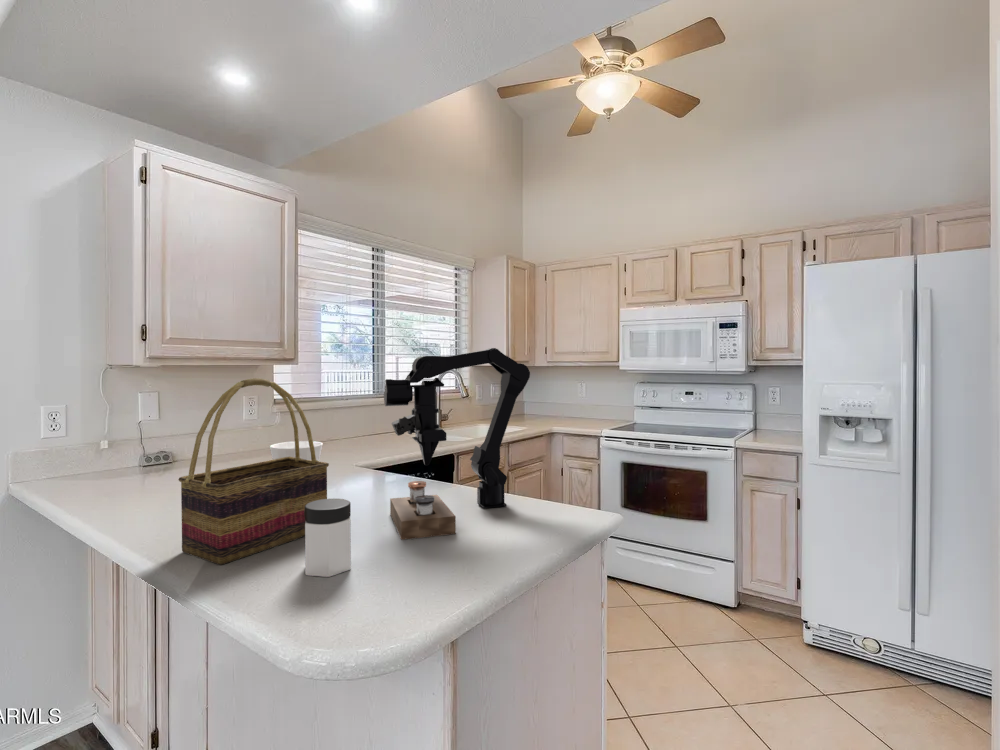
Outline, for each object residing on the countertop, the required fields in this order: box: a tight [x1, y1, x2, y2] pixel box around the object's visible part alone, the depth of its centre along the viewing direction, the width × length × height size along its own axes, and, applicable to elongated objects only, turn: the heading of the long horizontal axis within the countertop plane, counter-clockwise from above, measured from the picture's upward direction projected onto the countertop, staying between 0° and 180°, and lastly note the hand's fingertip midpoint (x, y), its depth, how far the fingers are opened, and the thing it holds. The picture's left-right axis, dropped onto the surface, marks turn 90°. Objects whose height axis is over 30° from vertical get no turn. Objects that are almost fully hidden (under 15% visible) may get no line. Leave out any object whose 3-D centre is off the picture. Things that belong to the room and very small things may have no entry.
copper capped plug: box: [407, 480, 427, 504], centre depth 126 cm, size 4×4×7 cm
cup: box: [269, 440, 324, 462], centre depth 141 cm, size 14×14×16 cm
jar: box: [304, 498, 352, 578], centre depth 94 cm, size 9×8×12 cm
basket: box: [177, 377, 330, 566], centre depth 109 cm, size 26×15×35 cm, turn 149°
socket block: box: [389, 494, 457, 541], centre depth 121 cm, size 12×20×4 cm, turn 19°
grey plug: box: [415, 494, 434, 516], centre depth 116 cm, size 4×4×7 cm
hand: (426, 465), depth 131 cm, fingers closed
